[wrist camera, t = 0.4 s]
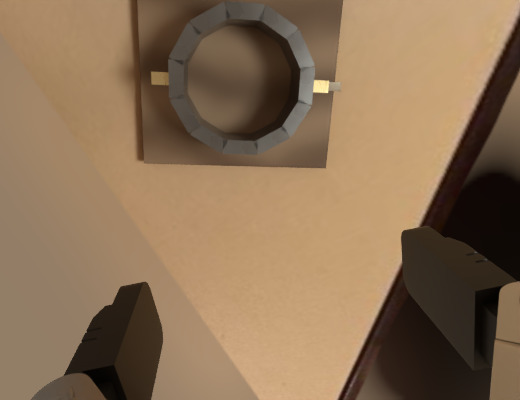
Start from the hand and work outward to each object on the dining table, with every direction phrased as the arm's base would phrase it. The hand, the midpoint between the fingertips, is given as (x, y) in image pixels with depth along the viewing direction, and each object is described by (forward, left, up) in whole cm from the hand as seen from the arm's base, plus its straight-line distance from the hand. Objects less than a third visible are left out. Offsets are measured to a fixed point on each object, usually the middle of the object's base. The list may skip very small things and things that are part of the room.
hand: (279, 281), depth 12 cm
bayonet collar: (-5, 0, -27) cm, 28 cm away
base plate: (-5, 0, -28) cm, 29 cm away
